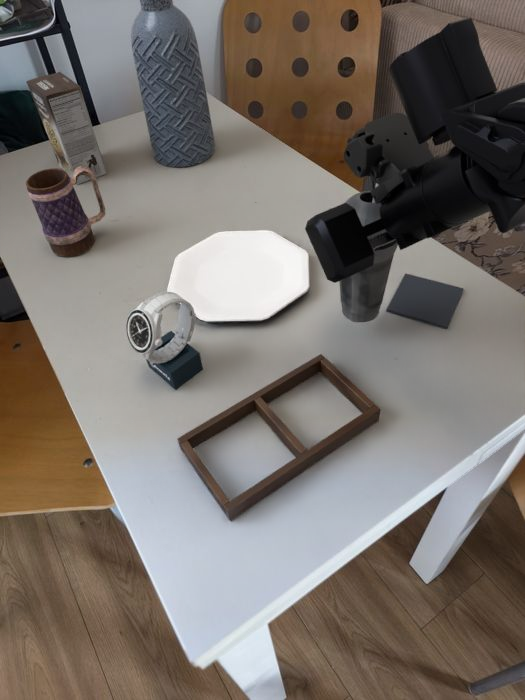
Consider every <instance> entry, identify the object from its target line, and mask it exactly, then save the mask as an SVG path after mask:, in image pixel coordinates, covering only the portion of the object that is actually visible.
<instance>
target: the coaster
mask: <svg viewBox="0 0 525 700" xmlns="http://www.w3.org/2000/svg"><path fill="white" fill-rule="evenodd" d="M463 292H464V287H460V286H456V285H452V284H449V283H444V282H440V281H437V280H433V279H429V278H424V277H422V276H417V275H414V274H410V273H404V275H403V277H402V279H401V281H400V283H399V285H398V286H397V289H396V290H395V292H394V294H393V295H392V298H391V300H390V301H389V304H388V306H387V307H386V310H385V312H386V313H391V314H394V315H397V316H401V317H405V318H407V319H412V320H415V321H417V322H421V323H424V324H427V325H432V326H435V327H438V328H441V329H446V330H448V329H449V326H450V324H451V321H452V319H453V317H454V314H455V311H456V309H457V307H458V305H459V302H460V300H461V297H462V295H463Z"/></svg>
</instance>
